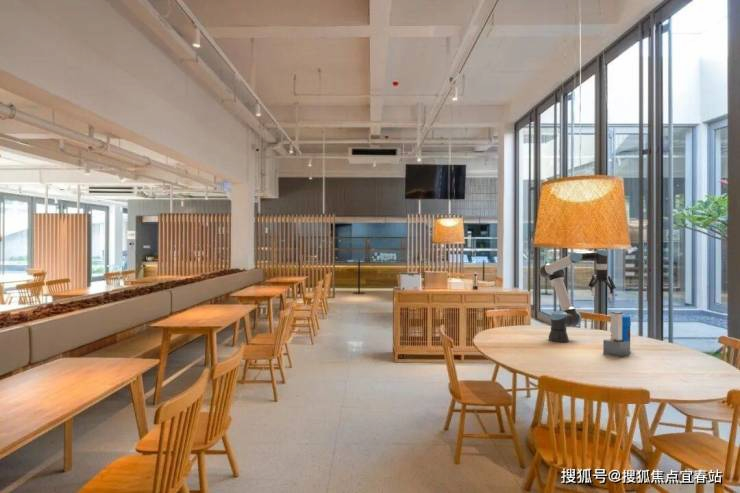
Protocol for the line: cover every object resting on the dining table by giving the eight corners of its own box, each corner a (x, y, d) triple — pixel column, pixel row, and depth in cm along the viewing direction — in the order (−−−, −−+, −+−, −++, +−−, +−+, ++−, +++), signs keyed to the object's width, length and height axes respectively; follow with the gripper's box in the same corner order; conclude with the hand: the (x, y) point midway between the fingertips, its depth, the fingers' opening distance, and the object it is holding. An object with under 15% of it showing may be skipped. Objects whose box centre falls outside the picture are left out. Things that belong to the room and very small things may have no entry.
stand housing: (603, 353, 300) (603, 338, 300) (613, 351, 306) (613, 336, 306) (620, 357, 290) (620, 341, 290) (629, 355, 296) (629, 339, 295)
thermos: (625, 347, 318) (625, 314, 318) (633, 350, 307) (633, 317, 307) (610, 346, 319) (611, 314, 319) (617, 350, 309) (617, 317, 308)
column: (610, 342, 299) (610, 311, 298) (614, 341, 302) (615, 311, 301) (617, 344, 294) (617, 313, 294) (622, 343, 297) (622, 312, 297)
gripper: (583, 268, 327) (583, 295, 328) (615, 270, 306) (614, 299, 306) (589, 268, 331) (589, 294, 331) (621, 270, 309) (620, 298, 309)
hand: (601, 296), depth 319 cm, fingers open, 13 cm apart
